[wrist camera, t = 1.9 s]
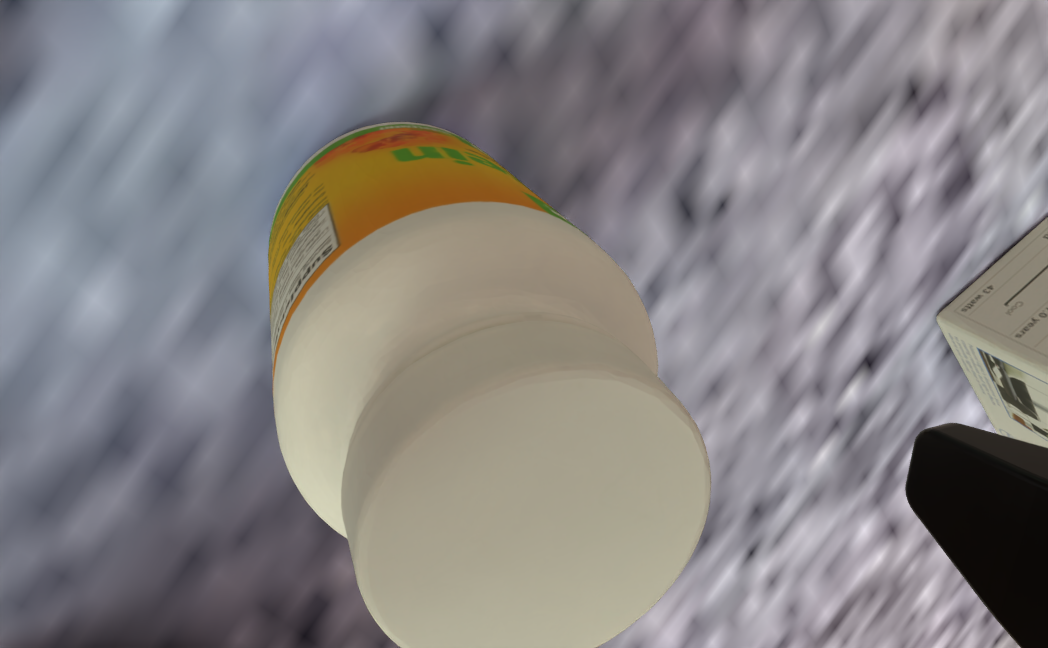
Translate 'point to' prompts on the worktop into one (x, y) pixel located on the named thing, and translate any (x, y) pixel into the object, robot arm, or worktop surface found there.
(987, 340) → the light bulb box
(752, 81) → the worktop surface
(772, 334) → the worktop surface
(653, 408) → the supplement bottle
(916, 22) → the worktop surface
